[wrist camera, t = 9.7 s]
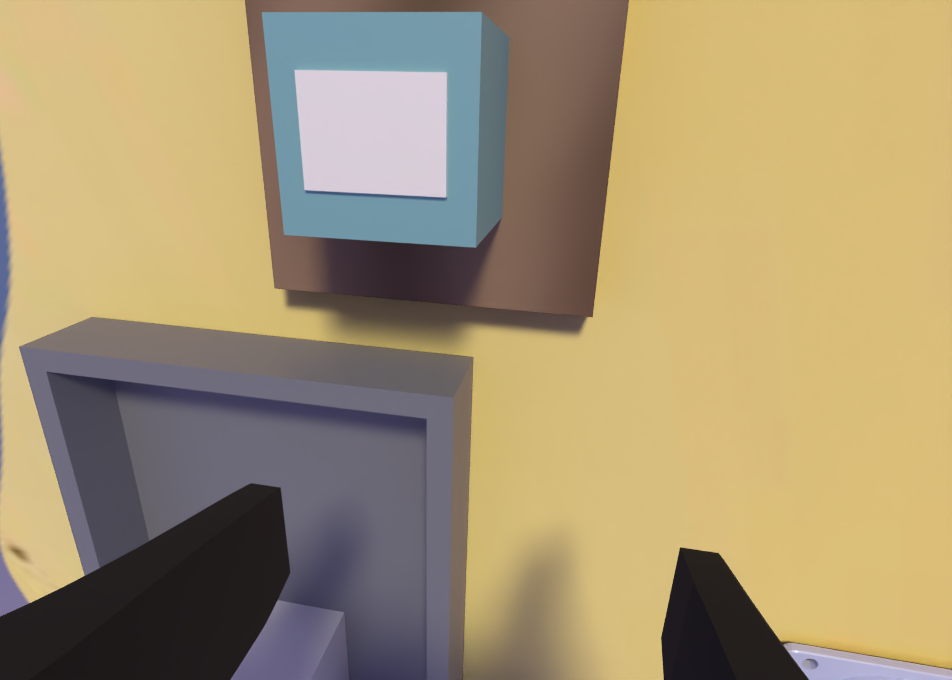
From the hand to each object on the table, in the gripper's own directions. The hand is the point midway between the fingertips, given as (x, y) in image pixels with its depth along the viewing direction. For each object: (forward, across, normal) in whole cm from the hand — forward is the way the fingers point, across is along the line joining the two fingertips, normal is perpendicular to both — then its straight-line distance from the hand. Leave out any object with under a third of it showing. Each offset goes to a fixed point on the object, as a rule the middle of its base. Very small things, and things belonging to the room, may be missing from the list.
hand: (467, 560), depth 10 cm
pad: (+9, +3, -7) cm, 12 cm away
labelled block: (+8, +3, -7) cm, 11 cm away
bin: (+9, +9, +10) cm, 16 cm away
